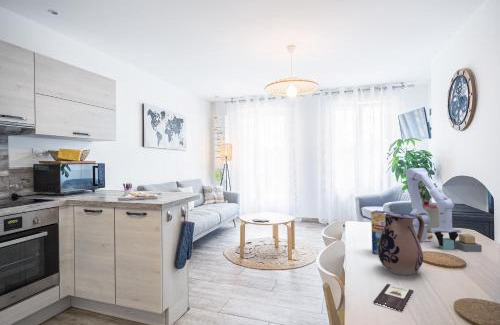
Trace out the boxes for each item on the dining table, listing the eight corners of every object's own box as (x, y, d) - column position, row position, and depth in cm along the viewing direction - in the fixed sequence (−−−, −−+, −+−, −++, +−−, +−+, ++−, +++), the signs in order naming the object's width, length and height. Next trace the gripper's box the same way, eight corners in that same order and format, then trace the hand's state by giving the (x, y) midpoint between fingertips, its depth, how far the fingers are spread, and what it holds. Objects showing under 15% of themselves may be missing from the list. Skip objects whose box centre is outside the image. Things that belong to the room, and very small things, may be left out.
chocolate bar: (372, 301, 94) (387, 283, 108) (373, 304, 94) (387, 286, 108) (402, 310, 88) (413, 290, 102) (402, 313, 88) (413, 292, 102)
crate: (463, 251, 144) (463, 244, 144) (453, 246, 153) (453, 240, 153) (481, 251, 143) (481, 245, 143) (470, 246, 152) (470, 240, 152)
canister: (448, 234, 178) (447, 201, 178) (418, 233, 181) (417, 201, 181) (434, 227, 196) (434, 198, 196) (407, 227, 199) (406, 198, 199)
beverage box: (394, 258, 137) (393, 214, 137) (372, 253, 145) (371, 212, 145) (398, 254, 142) (397, 212, 142) (376, 250, 149) (375, 210, 149)
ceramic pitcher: (369, 267, 126) (368, 213, 126) (403, 260, 133) (401, 209, 133) (402, 282, 109) (401, 220, 109) (439, 274, 117) (437, 215, 117)
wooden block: (465, 249, 146) (464, 236, 146) (459, 246, 151) (458, 233, 151) (475, 249, 145) (474, 236, 145) (469, 246, 150) (468, 234, 150)
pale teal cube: (444, 249, 148) (443, 240, 148) (438, 246, 153) (438, 237, 153) (454, 249, 147) (453, 240, 147) (448, 246, 152) (448, 238, 152)
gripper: (435, 222, 147) (436, 247, 147) (464, 222, 145) (465, 248, 145) (428, 219, 154) (429, 243, 154) (456, 219, 152) (457, 244, 152)
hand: (446, 245), depth 150 cm, fingers closed on pale teal cube, 5 cm apart
